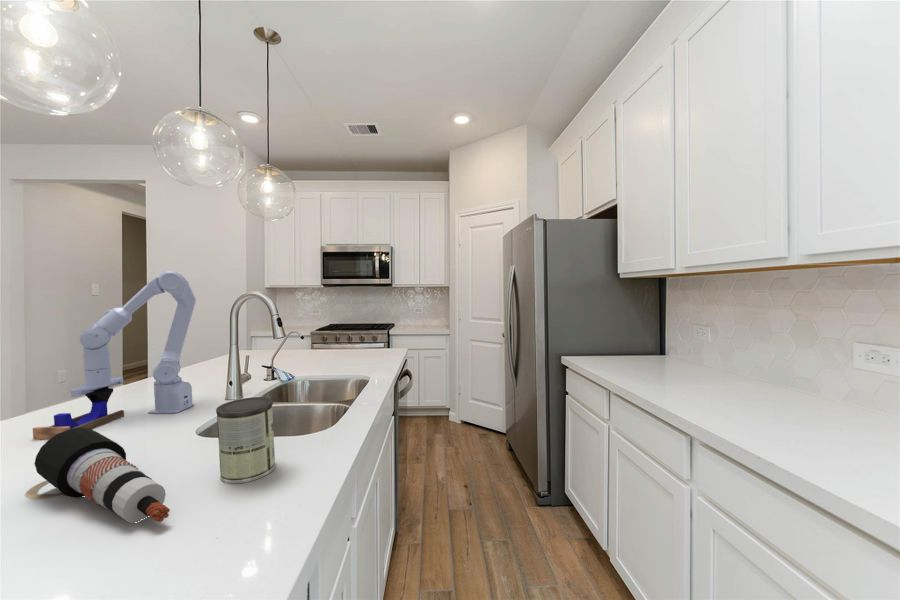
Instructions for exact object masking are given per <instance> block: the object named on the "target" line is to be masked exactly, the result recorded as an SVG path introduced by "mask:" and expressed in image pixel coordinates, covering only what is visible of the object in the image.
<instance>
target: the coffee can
mask: <svg viewBox="0 0 900 600" xmlns="http://www.w3.org/2000/svg"><path fill="white" fill-rule="evenodd" d="M273 403H274V401H273V399H272V398H269V397H265V396H257V397H256V396H255V397H254V396H253V397H252V396H251V397H245V398H239V399H234V400H231V401H227V402H225V403H223V404H221V405H219V406H217V407H216V408H215V413H216V417H217V419H216V420H217V421H216V422H217V435H218V437H217V438H218V453H219V454H218V455H219V469H220V470H219V471H220V472H219V473H220V475H219V476H220V477H219V478H220V481H221V482H223V483H226V484H232V485H233V484H235V485H236V484H243V483H244V484H245V483H249V482H252V481H256V480H258V479H261V478H264V477H266V476H267V475H269V474H271V473H272V472H273V471H274V470H275V468H276V466H277V464H276V457H275V456H276V455H275V436H274V435H275V434H274V432H275V431H274V417H273V416H274V415H273Z"/></svg>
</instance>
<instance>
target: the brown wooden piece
mask: <svg viewBox="0 0 900 600" xmlns="http://www.w3.org/2000/svg"><path fill="white" fill-rule="evenodd" d="M83 415H84V414H81V415H79V416H78V415H77V416H75V417H72V419H73V421H74V422H75V423H76V422H77V421H79V420H80V419H81V418H82V416H83ZM121 417H122V418H124V417H125V411H124V410H123V409H120V410H117V411H115V412H112V413H110V414H109V413H108V415H106V416H103V417H101V418H98V419H95V420H93V421H90V422H87V423H85V424H82V425H79V426H76V427H74V428H89V429H92V430H94V429H96V428H98V427H101V426H104V425H107V424H109V423H111V422H115V421H116V420H119V419H122V418H121ZM69 429H70V426H61V427H54V424H52V425H49V426H36V427H33V428H32V440H33V441H35V440H41V441H43V440H49V439H51V438H52V437H54V436H55V435H57V434H59V433H61V432H64V431H67V430H69ZM71 429H73V428H71Z"/></svg>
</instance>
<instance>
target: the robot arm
mask: <svg viewBox="0 0 900 600" xmlns="http://www.w3.org/2000/svg"><path fill="white" fill-rule="evenodd" d="M190 285H191V284H190V282H189V281H188V280H187V279H186V278H185V277H184V275H182V274H181V273H179V272H178V271H174V270H167V271H164V272H163V273H161V274H160V275H159V276H158V277H157V276H156V277H155V278H154V279H151V281H150V282H148V283H147V284H146V285H144V286H143V287H142V288H141V289H140V290H139V291H138V292H136V294H135V295H133V296H132V297H131V298H130V299H129V300H128V301H126V303H125V304H124V305H123V306H122V307H114V308H112V309H107V310H106V311H104V314H105V315H104V316H102V317H101V318H100V319H99V320H97V321H96V322H93V323H92V324H90V327H92V328H88V329H85V330H83V332H82V334H81V335H80V337H79V343H80V344H81V345H82V346H83V350H82V351H83V368H84V370H83V371H84V383H83V384H82V385H81V386H79V387H77V388H74V389H71V390H70V395H71V396H70V397H71V398H75V397H77V398H78V397H81V396H83V395H84V396H85V397H86V398H88V400H89V401H90V402H91V404H92V403H94V402H97V401H107V403H108V402H109V399H110V397H111V396H112V394H113V392H114V388H113V387H114V386H117V385H122V384H124V377H114V378H112V373H111V372H112V371H111V356H110V348H109V347H110V346H109V343H110V342H111V339H112V337H115V336H116V335H117V334H118V333H119V332H120V331H122V330H123V329H124V328H125V327H126V326H128V324H129V323H130V322H132V321H133V316H132V315H133V314H134V312H136V311H138V309H140V308H141V307H142V306H143V305H145V304H146V303H147V302H149V300H150V299H152V298H153V297H154V296H158V295H160V294H164V293H166V292H167V293H168V294H170V295H171V296H172V298H173V299H174V300H175V301H176V302H177V306H176V308H175V312H174V315H173V319H172V322H171V325H170V329H169V333H168V336H167V340H166V342H165V343H166V344H165V346H164V350H163V353H162V355H161V358H160V361H159V363H158V364H157V366H156V367H155V368H154V369H153V372H152V377H153V379H154V380H155V381H153V391H154V393H153V394H154V409H152V410H149V411H147V414H175V413H176V414H177V413H180V412H182V411H184V410H186V409H189V408H191V407H193V406H195V403H193V389H192V385H191V383H190V382H188V381H183V379H182V377H181V376H179V373H180V371H181V364H180V359H181V354H182V351H183V347H184V343H185V340H186V337H187V334H188V329H189V327H190V322H191V321H192V320H191V319H192V316H193V313H194V309H195V305H196V301H197V298H196V296H195V294H194V292H193V290H192V288H191V286H190Z"/></svg>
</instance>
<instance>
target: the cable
mask: <svg viewBox="0 0 900 600" xmlns="http://www.w3.org/2000/svg"><path fill="white" fill-rule="evenodd" d="M33 464H34V467H35V470H36V473H37V474H38V475H39V476H40V477H42V478H43V479H44V480H46V481H47V482H48V483H49V484H51V486H53V487H54V488H56V489H57V490H58V491H59V492H60V493H62V494H63V495H64V496H67V497H70V498H72V499H79V498H83V497H82V496H85V497H84V498H87V499H88V501H90V502H91V503H92V502H93V503H94V504H95V505H99V506H102V507H104V508H105V509H106V510H108V511H111V512H112V513H113V514H114V515H116V516H119V517H120V518H121V519H123V520H125V521H127V522H128V523H130V524H136V523H135V522H138V521H140V520H141V519H144V518H146V517H148V516H150V517H149V518H151V519H152V520H153V521H155V522H156V521H157V522H159V523H162V522H163V521H164V519H167V518H168V517H169V516H170V514H169V512H170V511H171V510H170V508H169V507H167V506H166V505H165V504H164V503H165V500H166V494H167V493H166V490H165V487H164V486H163V485H161V484H159V483H158V482H156V481H155V480H153V479H152V477H149V476H147V475H146V474H145V473H144V472H143V471H142V470H140V469H139V467H137V466H136V465H134V463H131V462H130V461H128V460H127V452H126V451H125V448H123V447H122V445H120V444H119V443H118V442H115V441H114V440H113V439H111V438H108V437H107V436H105V435H103V434H102V433H99V432H98V431H95V430H94V429H89V428H73V429H69V430H67V431H64V432H61V433H59V434H57V435H55V436H54V437H52V438H51V439H47V440H46V442H45V443H44V444H43V445H42V446H41V447H40V449H39V450H38V452H37V454H36V456H35V458H34V463H33Z"/></svg>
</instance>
